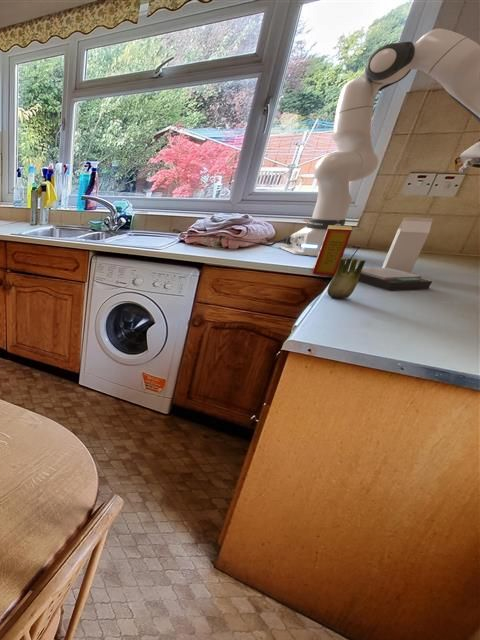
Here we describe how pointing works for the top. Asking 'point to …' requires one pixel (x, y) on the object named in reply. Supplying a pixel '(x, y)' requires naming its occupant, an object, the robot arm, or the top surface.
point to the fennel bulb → (345, 278)
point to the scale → (392, 279)
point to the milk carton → (407, 244)
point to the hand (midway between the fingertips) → (476, 172)
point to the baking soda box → (332, 249)
